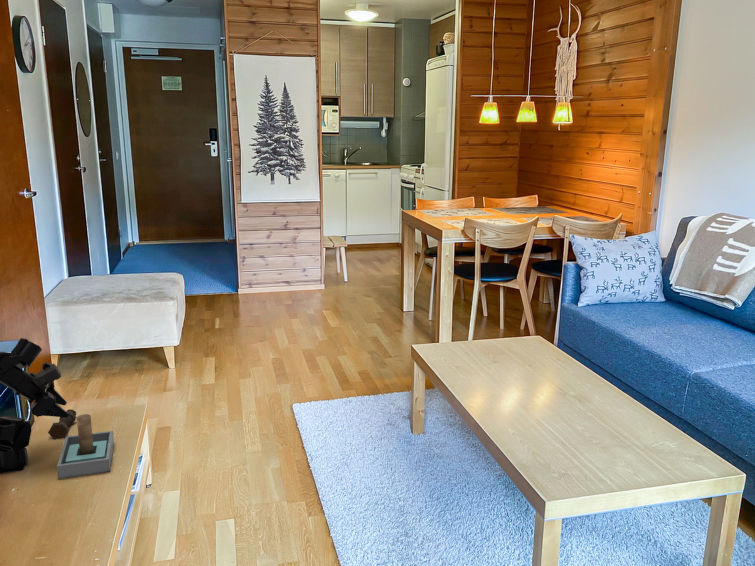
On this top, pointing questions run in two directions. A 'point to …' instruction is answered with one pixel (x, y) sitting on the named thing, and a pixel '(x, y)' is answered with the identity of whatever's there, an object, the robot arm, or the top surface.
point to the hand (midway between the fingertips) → (66, 409)
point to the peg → (85, 434)
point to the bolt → (62, 425)
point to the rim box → (86, 456)
